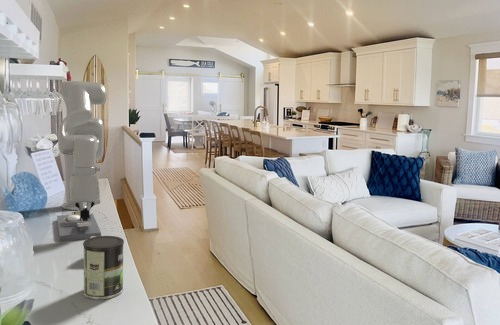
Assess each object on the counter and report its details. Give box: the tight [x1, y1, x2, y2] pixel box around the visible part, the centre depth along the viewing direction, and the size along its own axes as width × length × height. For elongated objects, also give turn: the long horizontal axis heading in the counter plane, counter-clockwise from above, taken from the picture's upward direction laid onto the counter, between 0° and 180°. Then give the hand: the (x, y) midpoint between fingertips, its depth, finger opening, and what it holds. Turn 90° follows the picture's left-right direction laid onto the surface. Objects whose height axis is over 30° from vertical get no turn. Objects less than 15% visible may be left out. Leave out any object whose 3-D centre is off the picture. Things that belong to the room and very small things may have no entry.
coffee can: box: [82, 235, 125, 301], centre depth 114 cm, size 10×10×14 cm
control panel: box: [56, 210, 102, 242], centre depth 167 cm, size 28×14×4 cm, turn 26°
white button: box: [67, 214, 80, 222], centre depth 166 cm, size 5×5×2 cm
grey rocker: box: [77, 222, 91, 227], centre depth 159 cm, size 9×4×1 cm, turn 27°
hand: (84, 220), depth 156 cm, fingers closed
